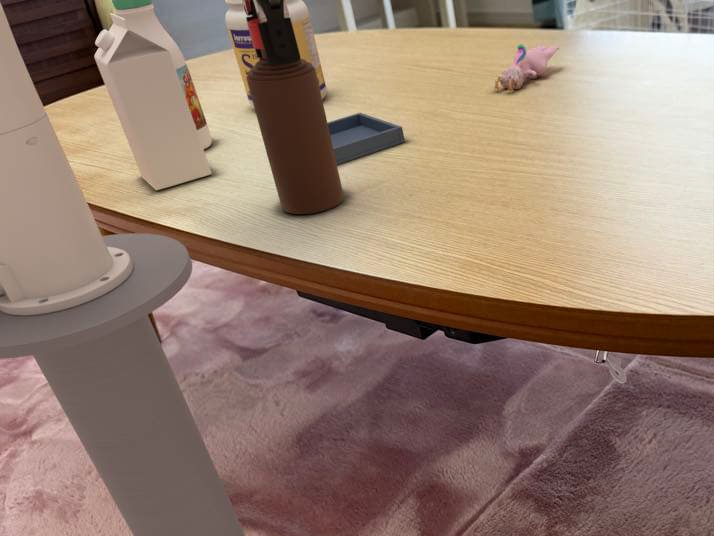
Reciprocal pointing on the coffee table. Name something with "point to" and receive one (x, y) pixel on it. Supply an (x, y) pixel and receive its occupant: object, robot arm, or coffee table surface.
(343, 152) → the tray
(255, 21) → the cap
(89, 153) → the coffee table surface
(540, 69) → the pink elongated figure
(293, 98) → the bottle
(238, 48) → the supplement tub
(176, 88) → the milk carton
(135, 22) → the milk bottle
